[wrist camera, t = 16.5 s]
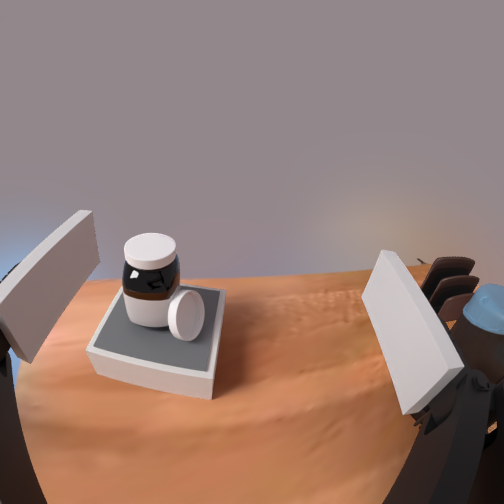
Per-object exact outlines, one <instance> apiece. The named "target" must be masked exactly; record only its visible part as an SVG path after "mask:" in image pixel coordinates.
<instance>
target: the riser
mask: <svg viewBox="0 0 504 504" xmlns="http://www.w3.org/2000/svg"><path fill="white" fill-rule="evenodd" d="M181 290H194V291H196V292H198V293H199V294H200V296H201V298H202V300H203V303H204V309H205V316H204V323H203V326H202V329H201V331H200V333H199V335H198V336H197V337H196V338H195V339H193V340H191V341H185V340H180V339H177V338H175V337H174V336H173V334H172V333H171V331H170V329H169V327H166V328H160V329H151V328H145V327H141V326H139V325H136V324H134V323H133V322H132V321H130V319H129V317H128V314H127V310H126V305H125V300H124V295H123V286H121V288H120V290H119V291H118V293H117V295H116V296H115V298H114V300H113V301H112V303H111V305H110V307H109V308H108V310H107V312H106V314H105V315H104V317H103V319H102V321H101V322H100V324H99V326H98V328H97V330H96V332H95V333H94V335H93V337H92V339H91V341H90V343H89V345H88V347H87V349H86V352H87V354H88V357H89V359H90V361H91V363H92V365H93V367H94V369H95V371H96V373H97V374H99V375H102V376H106V377H109V378H112V379H116V380H119V381H123V382H126V383H130V384H134V385H138V386H142V387H146V388H150V389H154V390H159V391H164V392H168V393H173V394H178V395H184V396H190V397H195V398H202V399H208V400H212V393H213V386H214V378H215V371H216V364H217V357H218V351H219V344H220V337H221V330H222V324H223V317H224V308H225V299H226V290H222V289H215V288H208V287H201V286H194V285H188V284H181V283H180V291H181Z"/></svg>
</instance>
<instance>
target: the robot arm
mask: <svg viewBox="0 0 504 504" xmlns="http://www.w3.org/2000/svg"><path fill="white" fill-rule="evenodd" d="M99 263H100V258H99V253H98V247H97V241H96V234H95V227H94V219H93V212H92V211H86V210H79V211H78V212H77V213H76V214H74V215H73V216H72V217H70V218H69V219H68V220H67V221H66V222H64V223H63V224H62V225H61V226H60V227H58V229H56V230H55V231H54V232H53V233H51V234H50V235H49V236H48V237H47V238H46V239H45V240H44V241H43V242H42V243H40V244H39V245H38V246H37V247H36V248H35V249H34V250H33V251H32V252H31V253H30V254H29V255H28V256H27V257H26V258H25V259H24V260H23V261H21V262H20V263H18V264H17V265H15V266H14V267H13V268H12V269H11V270H10V271H9V272H8V275H5V277H4V278H3V279H2V281H0V504H47V501H46V499H45V497H44V495H43V492H42V490H41V487H40V485H39V482H38V480H37V477H36V474H35V472H34V469H33V466H32V463H31V460H30V457H29V454H28V450H27V447H26V443H25V440H24V436H23V432H22V428H21V423H20V419H19V414H18V409H17V403H16V397H15V391H14V384H13V375H12V365H11V358H10V355H9V353H8V351H9V349H10V347H11V348H12V349H13V351H14V352H15V354H16V356H17V357H18V358H20V359H22V360H24V361H26V362H28V363H30V364H31V363H32V361H33V359H34V357H35V356H36V354H37V352H38V351H39V349H40V347H41V346H42V344H43V342H44V341H45V339H46V338H47V336H48V334H49V333H50V331H51V330H52V328H53V327H54V325H55V323H56V322H57V320H58V319H59V317H60V316H61V314H62V313H63V312H64V310H65V309H66V307H67V306H68V304H69V303H70V301H71V300H72V299H73V297H74V296H75V294H76V293H77V292H78V290H79V289H80V288H81V286H82V285H83V283H84V282H85V281H86V279H87V278H88V277H89V276H90V274H91V273H92V272H93V270H94V269H95V268H96V266H97V265H98V264H99ZM362 300H363V302H364V304H365V307H366V309H367V312H368V314H369V317H370V319H371V322H372V325H373V327H374V330H375V332H376V335H377V338H378V341H379V343H380V346H381V349H382V352H383V354H384V357H385V360H386V363H387V366H388V369H389V372H390V375H391V378H392V381H393V384H394V387H395V390H396V394H397V397H398V400H399V404H400V407H401V410H402V414H403V415H406V414H411V415H412V416H413V417H414V418H415V419H416V420H417V421H416V422H415V424H414V426H417V425H418V424H419V423H421V424H422V425H421V426H420V427H419V429H420V430H419V433H418V435H417V437H416V440H415V442H414V444H413V447H412V449H411V451H410V453H409V456H408V458H407V460H406V462H405V464H404V466H403V468H402V470H401V472H400V474H399V476H398V477H397V479H396V481H395V483H394V485H393V487H392V488H391V490H390V492H389V494H388V495H387V497H386V499H385V500H384V502H383V503H382V504H504V287H503V286H500V285H496V284H485V285H483V286H481V287H479V288H478V289H477V291H476V292H475V293H474V295H473V296H472V298H471V299H470V301H469V302H468V303H467V304H466V305H465V307H464V308H463V312H462V314H461V315H460V317H459V318H458V320H457V321H456V323H455V324H454V326H453V327H452V328H451V330H449V328H448V326H447V324H446V323H445V322H444V321H443V319H442V318H441V317H440V316H439V315H438V314H436V313H435V312H434V310H433V308H432V307H431V305H430V303H429V302H428V300H427V299H426V297H425V295H424V294H423V292H422V291H421V289H420V288H419V286H418V284H417V283H416V281H415V280H414V278H413V277H412V275H411V274H410V273H409V271H408V270H407V268H406V267H405V265H404V264H403V262H402V261H401V260H400V258H399V257H398V255H397V254H396V253H395V252H392V251H386V250H381V253H380V255H379V258H378V260H377V262H376V265H375V267H374V270H373V272H372V274H371V277H370V279H369V281H368V283H367V286H366V288H365V290H364V292H363V294H362ZM496 421H497V428H496V429H495V430H493V431H492V432H491V433H489V434H488V428H489V427H490V426H491V425H493V424H494V423H495V422H496Z"/></svg>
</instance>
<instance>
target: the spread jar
mask: <svg viewBox="0 0 504 504" xmlns="http://www.w3.org/2000/svg"><path fill="white" fill-rule="evenodd" d="M124 251H125V259H126V261H125V264H124V269H123V277H122V286H123V295H124V300H125V305H126V310H127V314H128V317H129V319H130V321H132V322H133V323H134V324H136V325H139V326H141V327H145V328H151V329H160V328H166V327H169V329H170V331H171V333H172V334H173V336H174V337H175V338H177V339H180V340H185V341H191V340H193V339H195V338H196V337H197V336H198V335H199V333H200V331H201V329H202V326H203V323H204V316H205V309H204V303H203V300H202V298H201V296H200V294H199V293H198V292H196V291H194V290H181V291H180V263H179V258H178V256H177V254H176V243H175V241H174V240H173V239H172V238H171V237H169V236H166V235H164V234H160V233H145V234H140V235H137V236H135V237H133V238H131V239H130V240H128V241H127V243H126V244H125V247H124Z"/></svg>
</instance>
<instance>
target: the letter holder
mask: <svg viewBox="0 0 504 504" xmlns="http://www.w3.org/2000/svg"><path fill="white" fill-rule="evenodd" d="M474 264H475V261H474V260H472V259H469V258H466V257H441V258H437V259H436V260H435V261H434V263H433V265H432V267H431V269H430V270H429V272H428V274H427V276H426V278H425V280H424V282H423V284H422V286H421V287H420V289H421V291H422V292H423V294H424V295H425V297H426V299H427V300H428V302H429V303H430V305H431V307H432V308H433V310H434V312H435V313H436V314H438V315H439V316H440V317H441V318H442V319H443V321H444V322H447V321H452V320H457V319H458V318H459V317H460V315H461V314H462V312H463V308H464V307H465V305H466V304H467V303H468V302H469V301H470V299H471V298H472V296H473V295H474V293H473V291H474V289H475V287H476V286H477V284H478V282H479V278H478V277H475V276H469V273H470V272H471V270H472V269H473V267H474Z"/></svg>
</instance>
